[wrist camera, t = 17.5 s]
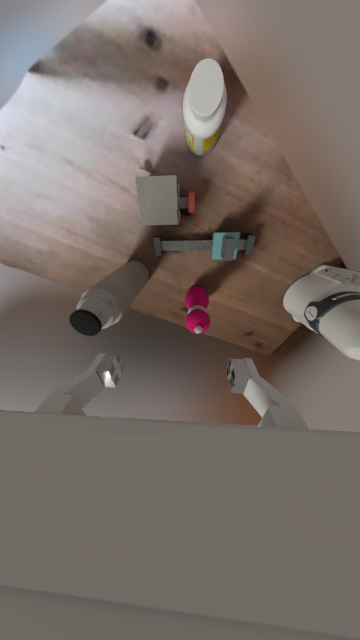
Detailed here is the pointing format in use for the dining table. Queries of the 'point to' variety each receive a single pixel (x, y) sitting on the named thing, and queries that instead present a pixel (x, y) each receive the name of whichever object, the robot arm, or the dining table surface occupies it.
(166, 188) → the cabinet
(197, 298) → the pepper mill
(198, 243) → the rail
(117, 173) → the dining table surface
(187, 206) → the plunger
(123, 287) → the thermos bottle
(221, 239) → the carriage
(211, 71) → the supplement bottle
